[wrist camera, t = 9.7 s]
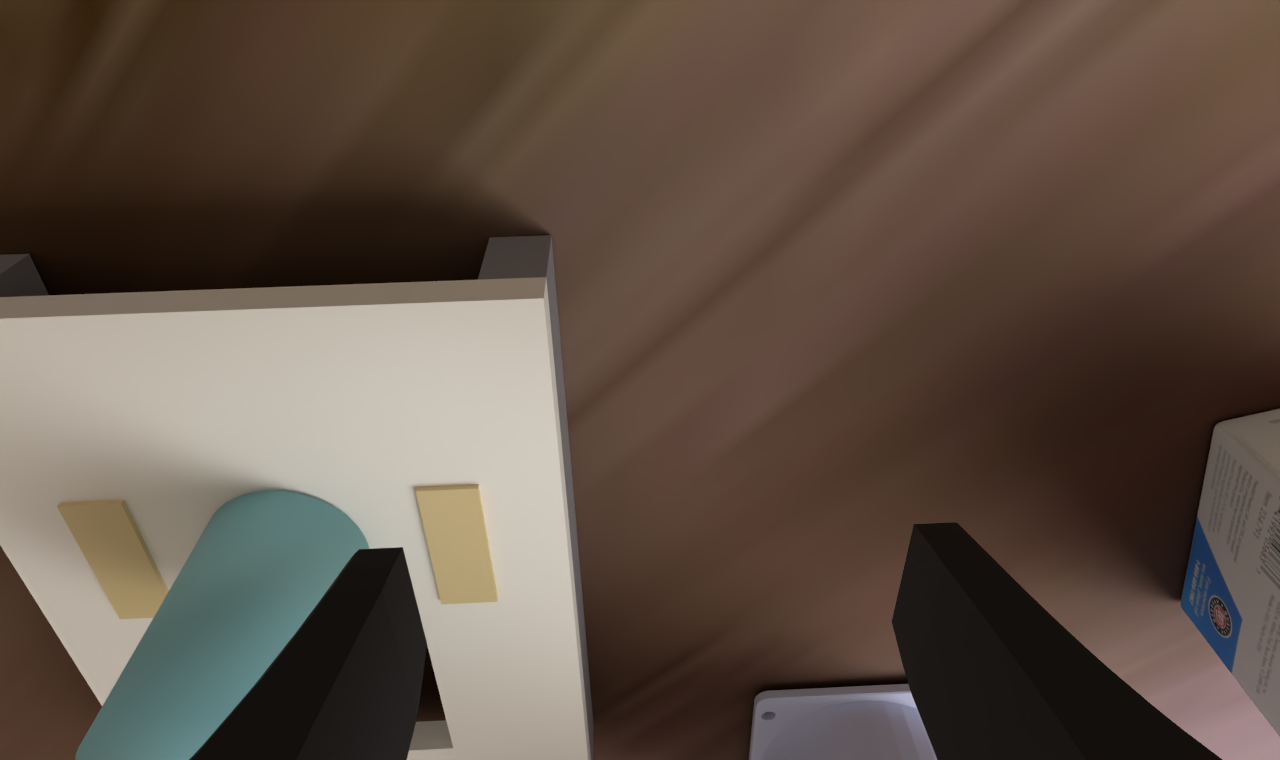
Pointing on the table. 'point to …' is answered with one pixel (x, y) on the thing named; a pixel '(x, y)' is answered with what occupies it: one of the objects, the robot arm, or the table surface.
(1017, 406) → the table surface
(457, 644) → the board
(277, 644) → the peg
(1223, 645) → the ink box
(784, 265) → the table surface
